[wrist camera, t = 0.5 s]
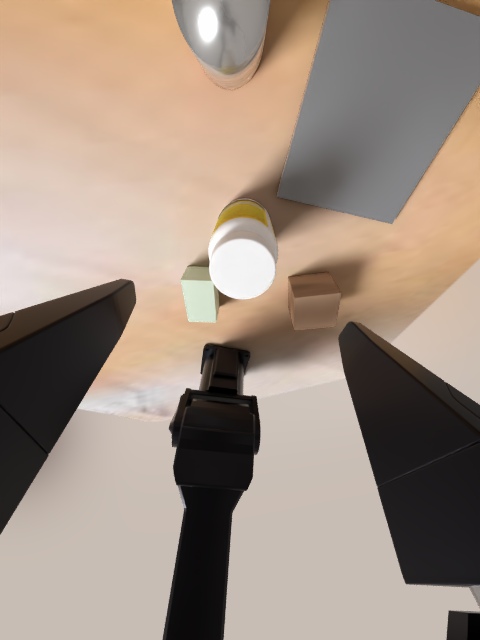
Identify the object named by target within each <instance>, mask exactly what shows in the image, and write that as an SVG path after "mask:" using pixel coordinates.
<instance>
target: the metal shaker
mask: <svg viewBox="0 0 480 640" xmlns="http://www.w3.org/2000/svg"><path fill="white" fill-rule="evenodd" d="M172 4H173V8H174V12H175V16H176V19H177V22H178V25H179V27H180V30H181V32H182V34H183V36H184V38H185V40H186V41H187V43H188V45H189V47H190V48H191V50H192V52H193V53H194V55H195V57H196V58H197V60H198V61H199V63H200V65H201V66H202V68H203V70H204V71H205V73H206V75H207V76H208V77H209V79H210V80H211V81H212V82H213V83H214V84H216V85H217V86H218V87H220V88H223V89H226V90H235V89H238V88H241V87H242V86H244V85H245V84H246V83H248V82H249V80H250V79H251V78H252V77H253V75H254V74H255V72H256V70H257V68H258V66H259V63H260V60H261V57H262V53H263V47H264V40H265V34H266V27H267V20H268V14H269V7H270V0H172Z"/></svg>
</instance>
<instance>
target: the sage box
mask: <svg viewBox="0 0 480 640" xmlns="http://www.w3.org/2000/svg"><path fill="white" fill-rule="evenodd" d="M181 285H182V290H183V295H184V301H185V306H186V311H187V317H188V322H215V323H216V322H217V317H218V311H219V292H218V289H217V288H216V286H215V285H214V283H213V282H212V280H211V277H210V272H209V267H198V266H187V268H186V270H185V272H184V274H183V276H182V278H181Z"/></svg>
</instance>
